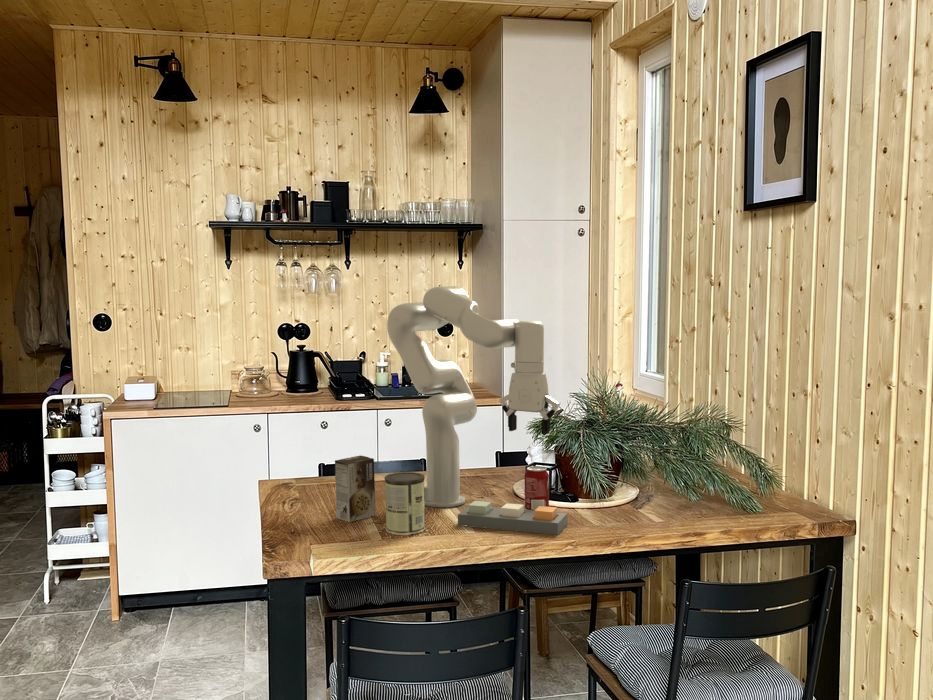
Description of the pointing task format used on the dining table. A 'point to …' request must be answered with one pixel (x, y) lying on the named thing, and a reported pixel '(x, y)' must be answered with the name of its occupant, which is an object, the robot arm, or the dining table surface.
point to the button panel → (513, 521)
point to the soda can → (536, 487)
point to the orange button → (545, 513)
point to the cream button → (512, 510)
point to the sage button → (480, 507)
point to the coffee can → (405, 503)
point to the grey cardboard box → (355, 488)
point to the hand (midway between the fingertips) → (528, 432)
